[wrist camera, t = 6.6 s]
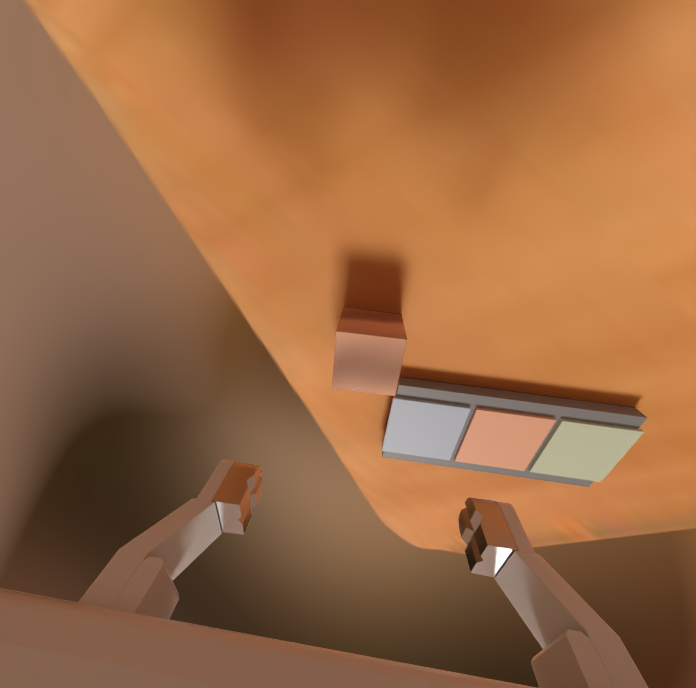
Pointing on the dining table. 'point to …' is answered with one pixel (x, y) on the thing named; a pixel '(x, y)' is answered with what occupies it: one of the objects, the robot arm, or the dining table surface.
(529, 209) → the dining table surface
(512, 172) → the dining table surface
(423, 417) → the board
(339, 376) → the terracotta cube
